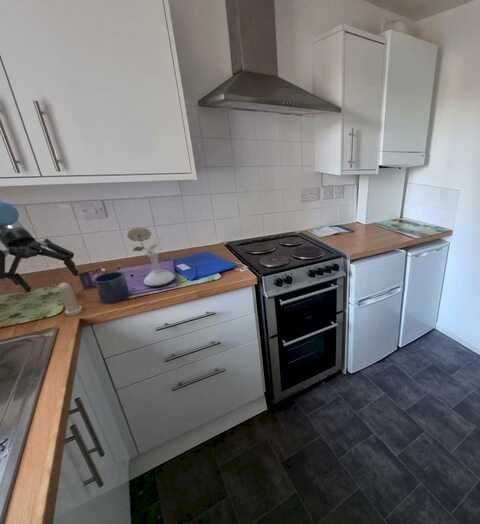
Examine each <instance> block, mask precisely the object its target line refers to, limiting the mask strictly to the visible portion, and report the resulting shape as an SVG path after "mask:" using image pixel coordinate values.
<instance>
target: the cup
mask: <svg viewBox="0 0 480 524" xmlns="http://www.w3.org/2000/svg"><path fill="white" fill-rule="evenodd" d="M101 274H102V275H100V276H97V277H96V278H95V279H94V283H93V284H94V286H96V288H95V289H96V291H97V293H98V296H99V300H100V301H101V303H102V304H114V303H119V302H121V301H124V300H127V299H128V297H130V295H131V292H130V289H129V285H128V283H127V280H126V277H125V274H124V273H123V272H122V271H121V272H120V271H109V272H107V273H106V274H103V273H101Z"/></svg>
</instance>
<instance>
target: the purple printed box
mask: <svg viewBox="0 0 480 524" xmlns="http://www.w3.org/2000/svg"><path fill="white" fill-rule="evenodd" d="M101 272H102V273H101ZM90 273H92V274H93V276H92V277H91V275H90ZM106 273H108V270H107V268H106V267H101V268H98V269H97V268H96V269H92V270H89V271H84V272H80V273H78V275H77V276H78V277H79V280H80V284H81V285H82V288H83V290H89V289H92V288H95V287H96V286H95V283H94V279H95V278H96V277H97V276H100V275H102V274H106Z"/></svg>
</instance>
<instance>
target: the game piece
mask: <svg viewBox="0 0 480 524" xmlns="http://www.w3.org/2000/svg"><path fill="white" fill-rule="evenodd" d="M57 291H58V294H59V295H60V298H61V300H62V302H63V305H64V307H65V310H64V313H65V315H66V316H68V317H69V316H75V315H78V314H80V313H82V312H83V307H82V305H79V303H78V300H77V297H76V296H75V292H74V291H73V288H72V286H71V284H69V283H68V282H62V283H59V284H58V286H57Z"/></svg>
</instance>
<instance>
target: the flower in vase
mask: <svg viewBox="0 0 480 524" xmlns="http://www.w3.org/2000/svg"><path fill="white" fill-rule="evenodd" d="M126 237H127V238H128V239H129V240H130V241H133V242H140V243H141V246H135V247H134V248H133V249H132V252H142V251H144V250H145V251H147V252H145V253H144V255H145V256H147V258H149V260H150V262H151V264H152V270H151V271H150V273H149V274H147V275H146V277H145V278H144V279H143V284H144V285H145V286H148V287H159V286H164V285H167V284H169V283H171V282H172V281H173V280H175V274H173V272H171V271H169V270H165V269H163V268H162V267H160V264H159V254H160V251H159V250H154V249H156V247H157V246H158V243H155V244H152V245H151V246H150V247H149V249H147V248H146V247H145V246H144V243H143V242H144V241H147V240H148V239H151V237H152V232H151V231H150V230H149V229H148V228H146V227H145V228H144V227H142V226H140V227H138V226H135V227H132V228H131V229H129V230H128V231H127V235H126Z"/></svg>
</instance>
